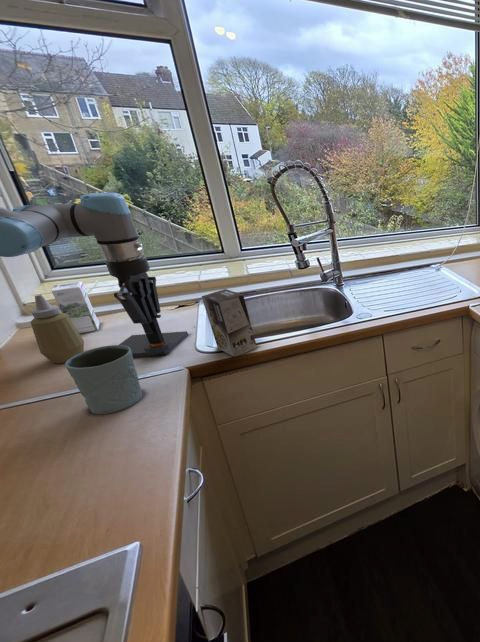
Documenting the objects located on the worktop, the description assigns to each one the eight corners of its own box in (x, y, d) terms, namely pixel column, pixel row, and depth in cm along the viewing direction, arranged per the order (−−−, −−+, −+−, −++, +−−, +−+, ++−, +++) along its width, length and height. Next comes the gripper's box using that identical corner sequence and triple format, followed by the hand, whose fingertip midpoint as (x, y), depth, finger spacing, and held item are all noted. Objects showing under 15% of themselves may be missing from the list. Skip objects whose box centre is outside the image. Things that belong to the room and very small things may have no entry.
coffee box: (258, 347, 114) (244, 294, 108) (234, 357, 109) (218, 302, 103) (240, 339, 118) (226, 288, 112) (216, 348, 113) (200, 295, 107)
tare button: (150, 350, 108) (148, 345, 108) (155, 346, 111) (154, 341, 110) (161, 350, 109) (159, 345, 108) (166, 345, 111) (165, 340, 110)
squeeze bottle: (43, 369, 102) (9, 304, 95) (48, 356, 108) (17, 294, 101) (87, 359, 107) (58, 296, 100) (90, 347, 112) (63, 287, 105)
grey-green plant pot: (89, 400, 91) (67, 354, 86) (147, 383, 97) (130, 339, 93) (86, 423, 84) (62, 374, 79) (149, 403, 90) (130, 357, 86)
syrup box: (100, 324, 126) (81, 280, 120) (98, 331, 121) (79, 285, 116) (74, 329, 122) (53, 284, 117) (71, 336, 118) (50, 290, 112)
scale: (101, 363, 105) (97, 353, 104) (133, 339, 117) (129, 330, 116) (166, 357, 108) (163, 347, 107) (191, 335, 120) (188, 326, 119)
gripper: (126, 265, 95) (159, 352, 104) (158, 250, 106) (185, 330, 116) (88, 266, 93) (125, 355, 102) (124, 251, 105) (155, 332, 114)
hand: (157, 342), depth 109 cm, fingers closed
